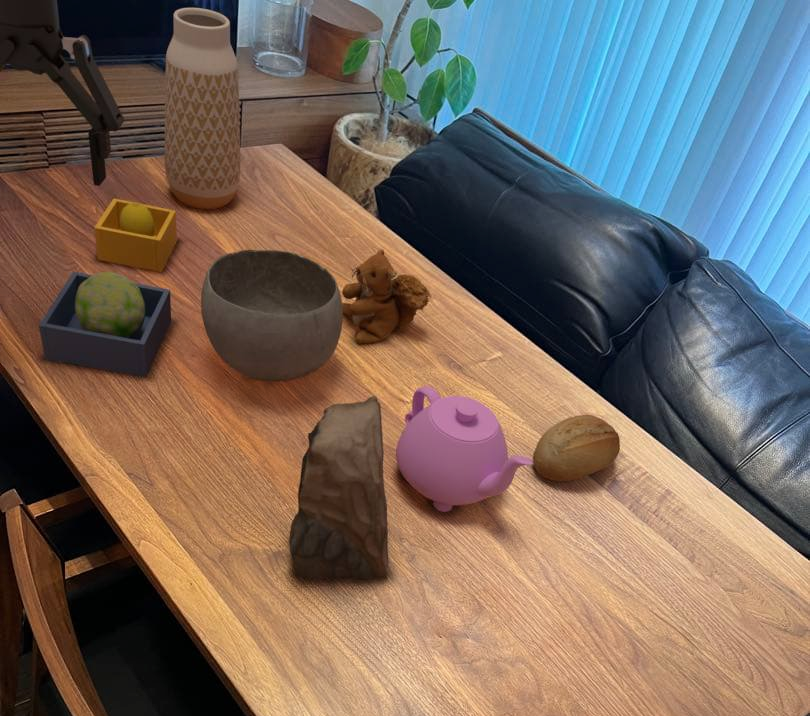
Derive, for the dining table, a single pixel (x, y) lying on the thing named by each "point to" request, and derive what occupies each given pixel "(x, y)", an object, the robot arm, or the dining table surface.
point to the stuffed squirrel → (382, 299)
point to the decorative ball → (110, 305)
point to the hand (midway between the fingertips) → (46, 170)
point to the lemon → (137, 219)
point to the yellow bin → (136, 238)
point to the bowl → (271, 313)
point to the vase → (202, 110)
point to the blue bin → (102, 350)
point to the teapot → (454, 450)
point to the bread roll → (576, 448)
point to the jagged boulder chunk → (342, 497)
